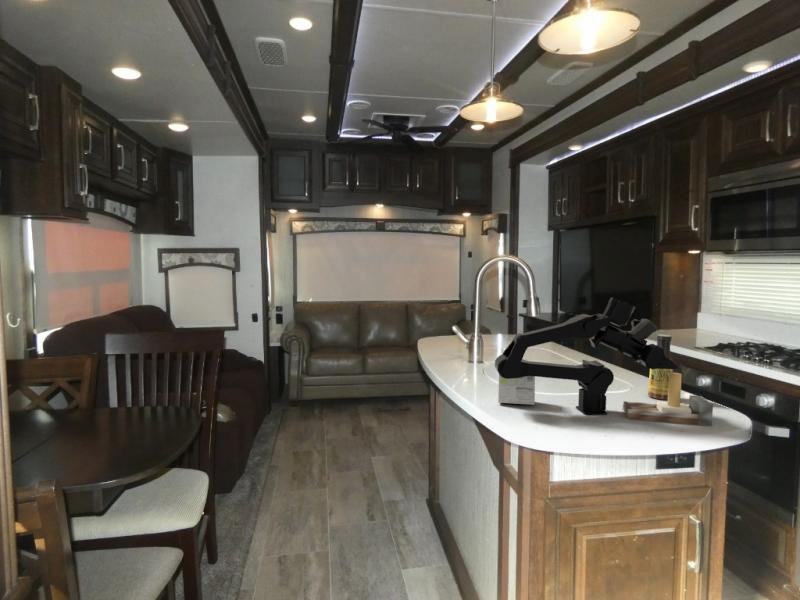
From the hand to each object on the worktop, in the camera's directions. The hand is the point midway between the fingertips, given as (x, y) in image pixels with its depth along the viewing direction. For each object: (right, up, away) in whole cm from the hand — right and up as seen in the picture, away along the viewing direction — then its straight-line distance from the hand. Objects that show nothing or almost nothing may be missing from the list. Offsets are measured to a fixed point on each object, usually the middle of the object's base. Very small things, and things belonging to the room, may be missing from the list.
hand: (669, 363), depth 136 cm
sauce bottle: (+6, -13, +17) cm, 22 cm away
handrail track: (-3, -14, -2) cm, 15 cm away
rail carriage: (-1, -13, -3) cm, 13 cm away
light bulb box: (-40, -13, +10) cm, 44 cm away
